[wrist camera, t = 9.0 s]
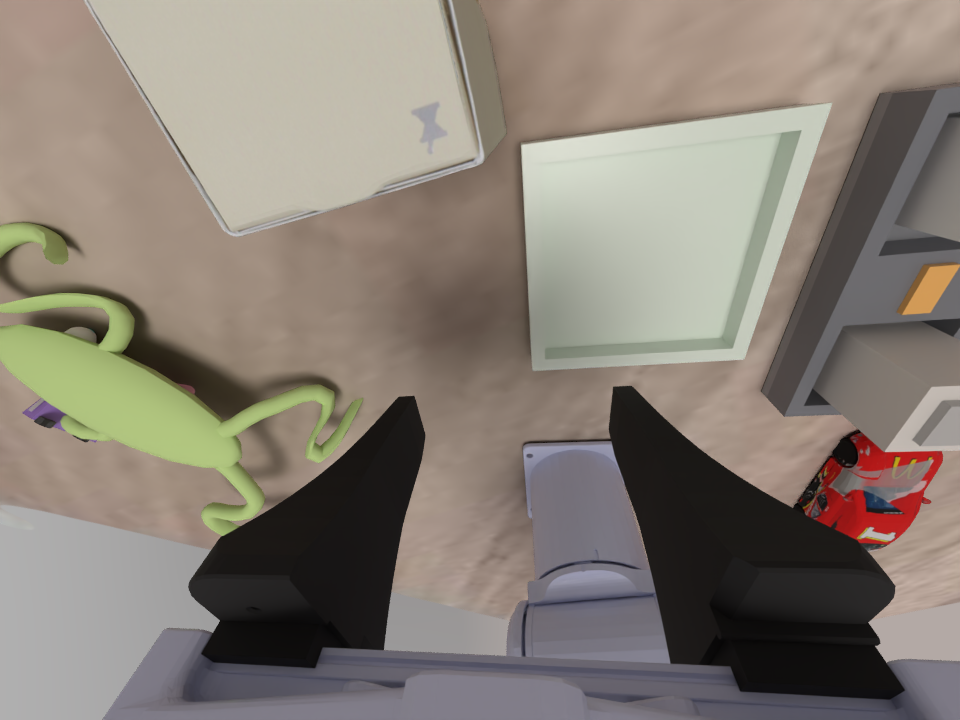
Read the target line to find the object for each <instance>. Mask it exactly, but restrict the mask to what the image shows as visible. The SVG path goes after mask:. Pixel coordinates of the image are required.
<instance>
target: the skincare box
mask: <svg viewBox="0 0 960 720" xmlns="http://www.w3.org/2000/svg"><path fill="white" fill-rule="evenodd" d="M83 1H84V3H85V4H86V6H87V8H88V10H89V11H90V13H91V15H92V16H93V18H94V19H95V21H96V23H97V24H98V26H99V27H100V29H101V31H102V32H103V34H104V35H105V37H106V39H107V40H108V42H109V43H110V45H111V47H112V48H113V50H114V52H115V53H116V55H117V57H118V58H119V60H120V62H121V64H122V65H123V67H124V69H125V71H126V72H127V74H128V76H129V77H130V79H131V81H132V82H133V84H134V85H135V87H136V89H137V90H138V92H139V94H140V95H141V97H142V99H143V100H144V102H145V104H146V105H147V107H148V109H149V111H150V112H151V114H152V116H153V118H154V119H155V121H156V122H157V124H158V125H159V127H160V129H161V130H162V132H163V134H164V135H165V137H166V138H167V140H168V141H169V143H170V145H171V146H172V148H173V149H174V151H175V153H176V155H177V156H178V158H179V160H180V161H181V163H182V165H183V166H184V168H185V169H186V171H187V173H188V175H189V176H190V178H191V180H192V181H193V183H194V184H195V186H196V188H197V189H198V191H199V192H200V194H201V195H202V197H203V199H204V200H205V202H206V204H207V205H208V207H209V208H210V210H211V212H212V213H213V215H214V217H215V218H216V220H217V221H218V223H219V225H220V226H221V228H222V230H224V231H225V232H226V233H228V234H229V235H232V236H235V237H242V236H245V235H248V234H251V233H255V232H258V231H262V230H266V229H269V228H273V227H277V226H280V225H283V224H287V223H290V222H294V221H297V220H301V219H305V218H308V217H311V216H315V215H318V214H321V213H325V212H328V211H332V210H335V209H338V208H342V207H345V206H348V205H352V204H355V203H358V202H361V201H364V200H367V199H371V198H374V197H377V196H381V195H384V194H387V193H391V192H394V191H397V190H400V189H403V188H407V187H410V186H413V185H417V184H420V183H423V182H427V181H430V180H433V179H437V178H440V177H443V176H446V175H449V174H452V173H455V172H459V171H462V170H465V169H469V168H472V167H476V166H478V165H481V164H482V163H483V162H484V161H485V160H486V158H487V157H488V156H489V155H490V154H491V152H492V151H493V150H494V149H495V147H496V146H497V145H498V144H499V142H500V141H501V140H502V139H503V138H504V137H505V135H506V134H507V130H506V124H505V117H504V111H503V105H502V99H501V92H500V87H499V81H498V76H497V70H496V65H495V60H494V55H493V50H492V45H491V41H490V37H489V32H488V28H487V23H486V20H485V17H484V15H483V12H482V9H481V7H480V4H479V1H478V0H83Z"/></svg>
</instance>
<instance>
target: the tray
mask: <svg viewBox="0 0 960 720" xmlns="http://www.w3.org/2000/svg"><path fill="white" fill-rule="evenodd" d="M831 105H832V103H818V104H801V105H793V106H786V107H779V108H771V109H764V110H757V111H749V112H742V113H735V114H727V115H720V116H713V117H705V118H698V119H691V120H683V121H676V122H669V123H661V124H654V125H647V126H639V127H632V128H625V129H617V130H610V131H603V132H595V133H588V134H581V135H573V136H566V137H559V138H551V139H544V140H537V141H529V142H522V143H520V144H521V164H522V184H523V204H524V224H525V244H526V264H527V284H528V304H529V324H530V344H531V361H532V371H544V370H562V369H580V368H598V367H617V366H635V365H653V364H671V363H689V362H707V361H726V360H744V358H745V355H746V353H747V350H748V347H749V344H750V341H751V338H752V335H753V332H754V329H755V326H756V323H757V321H758V318H759V315H760V312H761V309H762V306H763V303H764V300H765V297H766V294H767V291H768V289H769V286H770V283H771V280H772V277H773V274H774V271H775V268H776V265H777V262H778V259H779V257H780V254H781V251H782V248H783V245H784V242H785V239H786V236H787V233H788V230H789V228H790V225H791V222H792V219H793V216H794V213H795V210H796V207H797V204H798V201H799V198H800V196H801V193H802V190H803V187H804V184H805V181H806V178H807V175H808V172H809V169H810V166H811V164H812V161H813V158H814V155H815V152H816V149H817V146H818V143H819V140H820V137H821V134H822V132H823V129H824V126H825V123H826V120H827V117H828V114H829V111H830V108H831Z"/></svg>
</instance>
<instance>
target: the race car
mask: <svg viewBox="0 0 960 720" xmlns="http://www.w3.org/2000/svg"><path fill="white" fill-rule="evenodd" d="M833 453H834V456H835V457H831V458H830V459H829V461H828V462H827V463H826V465H825V466H824V468H823V469H822V470H821V472H820V473H819V475H818V476H817V477H816V479H815V480H814V481H813V483H812V484H811V486H810V487H809V488H808V490H807V491H806V493H805V494H804V495H803V497H802V498H801V500H800V501H799V502H798V504H795V505H794V508H793V509H795V510H797V511H799V512H801V513H803V514H805V515H807V516H808V517H810V518H813V519H815V520H817V521H819V522H821V523H823V524H825V525H827V526H829V527H831V528H833V529H835V530H838V531H840V532H842V533H844V534H846V535H848V536H850V537H852V538H854V539H856V540H858V542H859V543H860V544H861V545H862V546H863V547H864V548H865V549H866V550H867V551H868V552H871V551H877V550H879V549H881V548H883V547H885V546H887V545H888V544H890V543H891V542H893V541H895V540H896V539H897V538H898V537H899V536H901V535H902V534H903V533H904V532H905V531H906V530H907V529H908V527H909V526H910V525H911V523H912V522H913V520H914V519H915V517H916V515H917V514H918V512H919V509H920V506H921V502H922V503H924V504H930V503H931V501H930V500H929V499H926V498H924V497H923V495H924V491H925V489H926V488H927V486H928V484H929V483H930V481H931V480H932V479H933V477H934V475H935V474H936V472H937V471H938V469H939V467H940V465H941V464H942V461H943V454H942V451H912V452H883V451H882V450H881V449H880V448H879V447H878V446H877V445H876V444H874V443H873V442H872V441H871V440H870V439H869V438H868V437H867V436H865V435H864V434H863V433H862V432H861V433H859V434H856V435H854V436H852V437H850V439H841V440H840V443H839V444H838V446H837V447H836V448H835V449H834V450H833Z"/></svg>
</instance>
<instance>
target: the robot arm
mask: <svg viewBox="0 0 960 720" xmlns="http://www.w3.org/2000/svg"><path fill="white" fill-rule="evenodd" d="M609 433H610V438H611V441H598V442H564V443H530V444H526V445H524V446H523V458H524V471H525V484H526V496H527V509H528V517H529V518H531V519H532V527H533V546H534V565H535V581H530V582H528V600H524V601H520V602H519V603H518V605H517V606H516V608H515V611H514V613H513V614H512V616H511V619H510V622H509V626H508V634H507V651H506V652H507V656H495V655H474V654H453V653H432V652H410V651H388V650H384V643H385V634H386V626H387V618H388V610H389V604H390V597H391V590H392V583H393V577H394V571H395V565H396V559H397V553H398V548H399V543H400V537H401V532H402V527H403V523H404V519H405V515H406V511H407V508H408V505H409V501H410V498H411V494H412V491H413V488H414V484H415V481H416V478H417V474H418V471H419V467H420V464H421V460H422V455H423V449H424V442H425V432H424V428H423V425H422V421H421V418H420V414H419V410H418V407H417V403H416V400H415V396H405V397H398V398H397V399H396V400H395V401H394V403H393V404H392V405H391V406H390V407H389V408H388V409H387V410H386V411H385V413H384V414H383V415H382V416H381V417H380V418H379V419H378V420H377V421H376V422H375V424H374V425H373V426H372V427H371V428H370V429H369V430H368V431H367V432H366V433H365V434H364V435H363V436H362V437H361V438H360V439H359V440H358V441H357V442H356V443H355V444H354V445H353V446H352V447H351V448H350V449H349V450H348V451H347V452H346V453H345V454H344V455H343V456H341V457H340V458H339V459H338V460H337V461H336V462H335V463H334V464H332V465H331V466H330V467H329V468H327V469H326V470H325V471H324V472H323V473H321V474H320V475H319V476H318V477H316V478H315V479H314V480H312V481H311V482H309V483H308V484H307V485H305V486H304V487H303V488H301V489H300V490H298V491H297V492H296V493H294V494H293V495H291V496H290V497H288V498H287V499H285V500H284V501H282V502H281V503H279V504H278V505H276V506H275V507H273V508H271V509H270V510H268V511H266V512H265V513H263V514H261V515H260V516H258V517H256V518H255V519H253V520H251V521H249V522H247V523H246V524H244V525H242V526H240V527H238V528H237V529H235V530H233V531H231V532H229V533H227V534H226V535H224V536H222V537H220V539H219V540H218V541H217V543H216V544H215V546H214V547H213V548H212V550H211V551H210V553H209V554H208V556H207V557H206V559H205V560H204V561H203V563H202V565H201V566H200V567H199V569H198V570H197V571H196V573H195V575H194V576H193V577H192V579H191V580H190V582H189V586H188V587H189V591H190V593H191V596H192V597H194V599H195V600H196V601H197V602H199V603H200V604H201V605H202V606H203V607H205V608H206V609H207V610H208V611H209V612H211V613H212V614H213V615H214V616H215V617H217V618H218V619H219V620H220V622H219V624H218V626H217V627H216V629H215V631H214V632H213V633H212V632H209V631H205V630H200V629H180V628H167V629H165V630H163V631H162V633H161V634H160V636H159V637H158V639H157V640H156V642H155V643H154V645H153V646H152V648H151V649H150V651H149V652H148V654H147V655H146V656H145V658H144V659H143V661H142V662H141V664H140V665H139V667H138V668H137V670H136V671H135V673H134V674H133V675H132V677H131V678H130V680H129V681H128V683H127V684H126V686H125V687H124V689H123V690H122V692H121V693H120V695H119V696H118V698H117V699H116V700H115V702H114V703H113V705H112V706H111V708H110V709H109V711H108V712H107V714H106V715H105V717H104V718H103V719H102V720H960V661H941V660H940V661H939V660H917V659H901V660H894V661H890V662H887V663H886V661H885V660H884V659H883V657H882V656H881V654H880V653H879V651H878V650H877V649H876V647H875V646H877V645H879V644H880V639H879V637H878V636H877V634H876V633H875V632H874V630H873V629H872V627H871V626H870V625H869V623H868V622H869V621H870V620H871V619H873V618H874V617H875V616H876V615H877V614H878V613H879V612H880V611H882V610H883V609H884V608H885V607H886V606H887V605H888V604H889V603H890V602H891V600H892V599H893V598H894V594H895V585H894V584H893V582H892V581H891V579H890V578H889V577H888V576H887V574H886V573H885V572H884V571H883V569H882V568H881V567H880V566H879V564H878V563H877V562H876V561H875V559H874V558H873V557H872V556H871V555H870V554H869V553H868V551H867V550H866V549H865V548H864V547H863V546H862V545H861V544H860V543H859V542H858V540H856V539H854V538H852V537H850V536H848V535H846V534H844V533H842V532H840V531H838V530H835V529H833V528H831V527H829V526H827V525H825V524H823V523H821V522H819V521H817V520H815V519H813V518H810V517H808V516H807V515H805V514H803V513H801V512H799V511H797V510H795V509H793V508H792V507H790V506H788V505H786V504H784V503H782V502H780V501H779V500H777V499H775V498H773V497H772V496H770V495H768V494H766V493H765V492H763V491H761V490H760V489H758V488H756V487H755V486H753V485H752V484H750V483H748V482H747V481H745V480H743V479H742V478H740V477H739V476H737V475H736V474H734V473H733V472H731V471H730V470H728V469H727V468H725V467H724V466H722V465H721V464H720V463H718V462H717V461H715V460H714V459H713V458H711V457H710V456H708V455H707V454H706V453H704V452H703V451H702V450H700V449H699V448H698V447H697V446H695V445H694V444H693V443H692V442H691V441H689V440H688V439H687V438H686V437H685V436H683V435H682V434H681V433H680V432H679V431H678V430H677V429H676V428H674V427H673V426H672V425H671V424H670V423H669V422H668V421H667V420H666V419H665V418H664V417H663V416H661V415H660V414H659V413H658V412H657V411H656V410H655V409H654V408H653V407H652V406H651V405H650V404H649V403H648V402H647V401H646V400H645V399H644V398H643V397H642V396H641V395H640V394H639V393H638V392H637V391H636V390H635V389H634V388H633V387H632V386H619V387H613V395H612V404H611V413H610V422H609ZM624 485H625V486H626V489H627V491H628V494H629V497H630V500H631V502H632V505H633V508H634V511H635V513H636V517H637V520H638V523H639V526H640V530H641V534H642V538H643V542H644V546H645V549H646V553H647V557H648V561H647V558H646V554H645V551H644V548H643V545H642V541H641V538H640V535H639V532H638V528H637V525H636V522H635V519H634V516H633V512H632V509H631V506H630V503H629V499H628V496H627V493H626V490H625V486H624ZM648 562H649V564H648ZM649 566H650V567H649Z"/></svg>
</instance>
